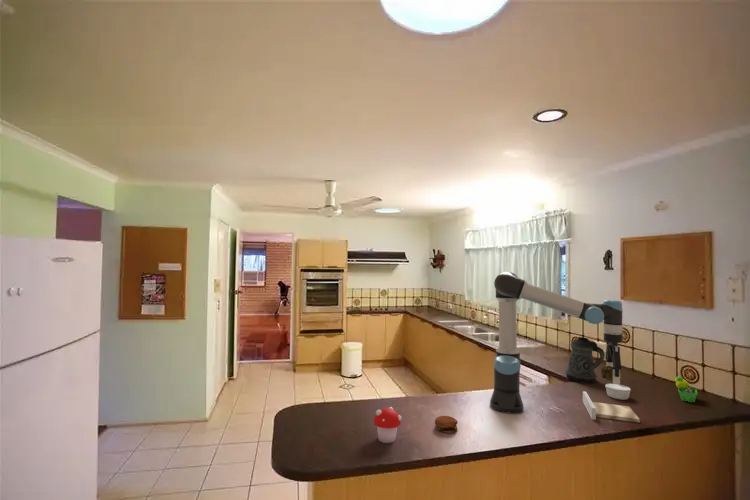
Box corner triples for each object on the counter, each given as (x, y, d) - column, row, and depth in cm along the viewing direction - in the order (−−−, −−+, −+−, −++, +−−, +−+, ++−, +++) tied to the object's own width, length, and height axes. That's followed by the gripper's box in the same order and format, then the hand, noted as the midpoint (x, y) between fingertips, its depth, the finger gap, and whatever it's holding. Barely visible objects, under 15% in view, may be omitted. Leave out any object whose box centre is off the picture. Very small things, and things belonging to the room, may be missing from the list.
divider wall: (591, 419, 172) (591, 408, 172) (582, 401, 194) (582, 391, 194) (595, 419, 171) (595, 408, 171) (586, 401, 194) (586, 391, 194)
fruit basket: (697, 404, 193) (697, 381, 193) (675, 400, 198) (675, 378, 199) (696, 398, 202) (696, 376, 202) (675, 394, 207) (674, 373, 208)
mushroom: (399, 433, 154) (400, 403, 155) (402, 446, 144) (402, 413, 144) (373, 433, 154) (373, 402, 154) (373, 446, 143) (374, 413, 144)
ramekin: (635, 399, 199) (635, 388, 199) (620, 401, 195) (620, 391, 195) (615, 392, 209) (615, 382, 209) (600, 394, 205) (600, 384, 205)
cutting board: (595, 416, 175) (595, 413, 175) (589, 404, 190) (589, 401, 190) (639, 422, 169) (639, 419, 169) (629, 409, 184) (629, 406, 184)
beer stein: (561, 375, 240) (561, 334, 241) (592, 375, 239) (592, 335, 240) (573, 383, 223) (573, 340, 224) (607, 384, 223) (607, 341, 223)
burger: (434, 423, 165) (435, 412, 165) (456, 425, 163) (457, 414, 163) (434, 433, 155) (434, 421, 155) (458, 435, 154) (458, 424, 154)
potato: (631, 384, 177) (631, 366, 178) (609, 386, 174) (609, 368, 174) (616, 378, 185) (616, 362, 186) (594, 380, 182) (594, 363, 182)
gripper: (629, 338, 168) (629, 388, 167) (615, 329, 190) (615, 373, 190) (609, 337, 170) (609, 386, 170) (598, 328, 193) (598, 372, 192)
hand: (613, 379), depth 180 cm, fingers closed on potato, 12 cm apart
